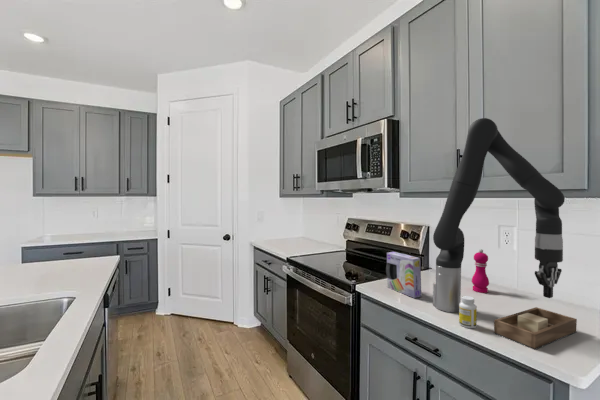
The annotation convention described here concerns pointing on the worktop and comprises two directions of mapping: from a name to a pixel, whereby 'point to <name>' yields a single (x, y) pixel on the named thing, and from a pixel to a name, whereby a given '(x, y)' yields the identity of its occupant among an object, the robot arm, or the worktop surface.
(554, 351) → the worktop surface
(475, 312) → the supplement bottle
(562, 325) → the divided wooden tray
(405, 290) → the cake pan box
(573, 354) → the worktop surface
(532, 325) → the block
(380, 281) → the worktop surface
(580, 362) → the worktop surface
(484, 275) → the pepper mill
